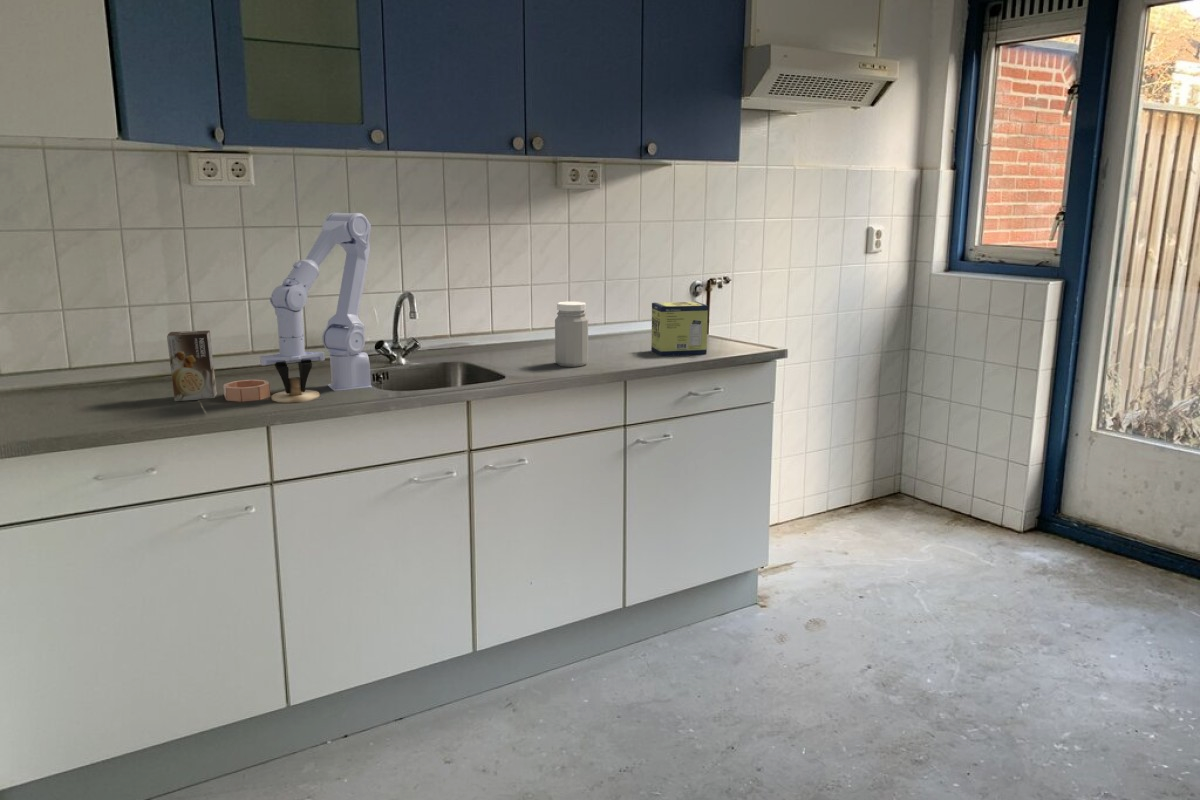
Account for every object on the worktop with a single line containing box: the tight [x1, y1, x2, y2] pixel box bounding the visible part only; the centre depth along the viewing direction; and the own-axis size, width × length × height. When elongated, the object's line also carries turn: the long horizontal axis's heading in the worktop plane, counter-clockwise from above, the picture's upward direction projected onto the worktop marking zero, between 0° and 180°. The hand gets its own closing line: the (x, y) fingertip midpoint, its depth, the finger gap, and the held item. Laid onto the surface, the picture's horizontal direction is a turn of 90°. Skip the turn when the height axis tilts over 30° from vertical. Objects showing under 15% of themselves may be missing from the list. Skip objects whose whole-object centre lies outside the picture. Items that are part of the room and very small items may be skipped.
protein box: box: [650, 300, 709, 357], centre depth 281 cm, size 10×16×16 cm
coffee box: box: [166, 330, 218, 402], centre depth 216 cm, size 9×6×16 cm
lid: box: [270, 376, 321, 404], centre depth 216 cm, size 11×11×5 cm
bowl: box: [223, 379, 271, 403], centre depth 217 cm, size 10×10×4 cm
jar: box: [554, 300, 589, 368], centre depth 261 cm, size 10×10×18 cm
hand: (295, 392), depth 216 cm, fingers open, 3 cm apart
